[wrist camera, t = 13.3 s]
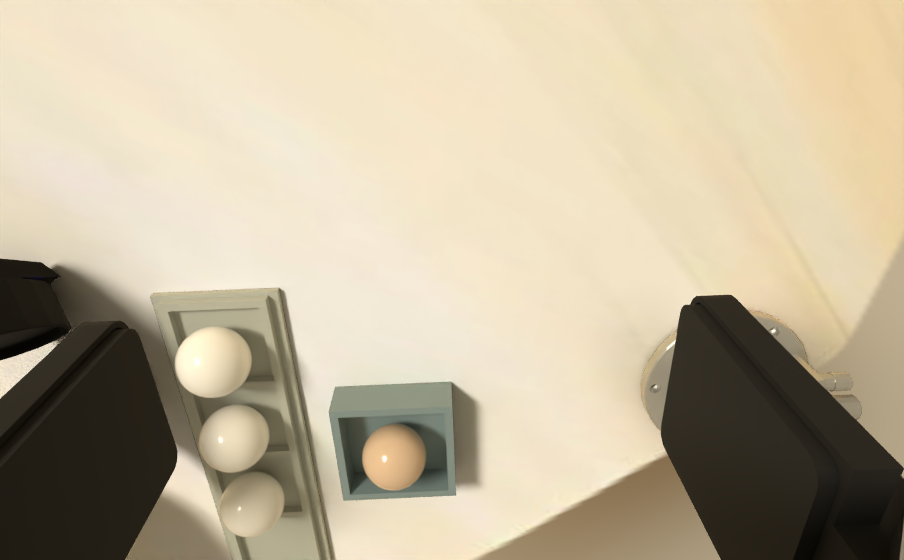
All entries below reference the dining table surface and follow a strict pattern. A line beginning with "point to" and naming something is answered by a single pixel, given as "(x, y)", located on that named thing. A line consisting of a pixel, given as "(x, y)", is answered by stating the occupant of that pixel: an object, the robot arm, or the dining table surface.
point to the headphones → (28, 308)
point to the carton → (270, 393)
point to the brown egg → (394, 456)
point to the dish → (386, 404)
